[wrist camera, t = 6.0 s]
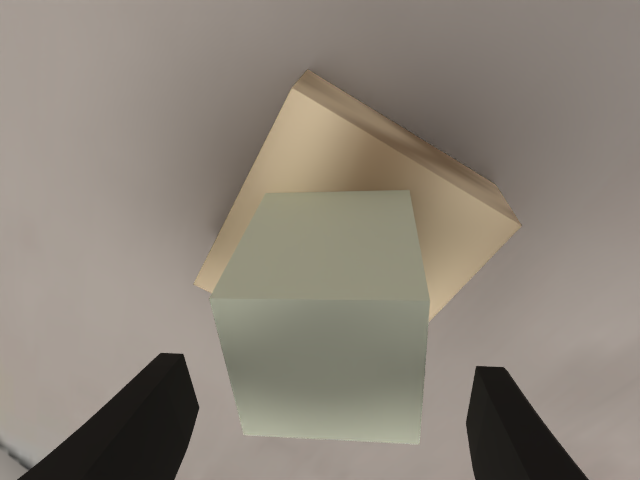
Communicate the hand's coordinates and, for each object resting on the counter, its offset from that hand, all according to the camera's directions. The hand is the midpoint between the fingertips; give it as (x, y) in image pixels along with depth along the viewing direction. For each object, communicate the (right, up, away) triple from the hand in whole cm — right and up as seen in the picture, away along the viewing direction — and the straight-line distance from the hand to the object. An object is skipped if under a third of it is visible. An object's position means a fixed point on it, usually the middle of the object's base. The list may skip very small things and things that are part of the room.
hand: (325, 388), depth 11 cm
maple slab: (+1, +5, +9) cm, 10 cm away
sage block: (+1, +3, +5) cm, 6 cm away
